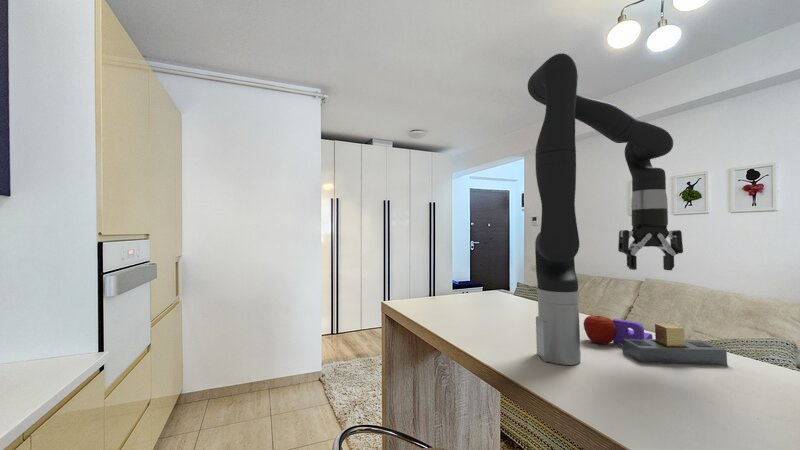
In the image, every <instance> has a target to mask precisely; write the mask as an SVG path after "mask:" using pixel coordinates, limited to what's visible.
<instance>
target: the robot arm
mask: <svg viewBox="0 0 800 450" xmlns="http://www.w3.org/2000/svg"><path fill="white" fill-rule="evenodd" d="M578 71H579V70H578V67H577V64H576V62H575V60H574V59H573V57H572V56H570V55H569V54H568V53H567V54H566V53H561V52H560V53H557V54H553V55H552V56H550V57H549V58H548V59H546V61H545V62H543V63H542V64H541V66H539V67H538V68H537V69H536V71H534V72H533V73H532V74H531V76H530V77H529V79H528V82H527V91H528V94H529V96H530V97H531V98H532V99H534V101H536V102H538V103H540V104H541V105H544V106H545V114H544V119H543V123H542V125H541V129H540V132H539V135H538V137H537V142H536V146H535V160H534V161H535V176H536V183H537V189H538V193H539V197H540V204H541V221H540V223H541V224H540V232H538V234H537V236H536V237H535V241H534V242H535V244H534V249H535V273H536V281H537V282H536V283H537V311H538V313H537V315H538V316H536V317H535V334H536V335H535V337H536V338H535V339H536V354H537V355H538V356H539V357H540V358H541V360H542V361H544V362H546V363H552V364H556V365H564V366H573V365H577V364H580V363H581V353H582V352H581V339H580V338H581V337H580V333H581V332H580V331H581V330H580V307H579V306H580V304H579V302H580V301H579V280H578V276H577V273H576V266H575V264H576V263H575V257H576V256H577V254H578V253H579V249H580V236H579V231H578V224H577V216H576V203H575V202H576V200H575V199H576V189H577V188H576V185H577V183H576V182H577V153H576V152H577V149H576V120H577V121H579V122H581V123H583V124H585V125H587V126H589V127H590V128H592V129H594V130H595V131H596V132H598V133H600V134H601V135H602V136H604V137H605V138H607V139H609V140H610V141H611V142H613V143H616V144H624V143H625V147H624V158H625V161H626V165H627V168H628V170H629V171H628V172H629V173H630V175H631V186H632V187H631V191H632V193H631V198H630V199H631V202H630V203H631V204H630V205H631V206H630V208H631V210H630V212H631V226H632V229H631V230H628V229H623V230H622V229H620V230H619V232H618V247H617V248H618V252H619V253H622V254H625V256H626V267H627V268H628V269H629V270H633V271H637V269H638V267H637V265H638V263H637V255H636V254H637V253H638V252H639V251H640V250H641V249H642V248H643V247H644V248H645V247H646V248H647V247H648V248H650V247H654V248H655V247H657V248H658V249H659V250H660V251H661V252H662V253H663V256H662V259H663V261H662V262H663V265H662V267H663V270H664V271H673V269H674V268H675V256H676V255H678V254H683V252H684V247H683V236H682V235H683V233H682V230H680V229H673V230H672V229H671V230H668V228H667V227H668V224H669V218H668V216H669V215H668V213H669V211H668V194H667V186H666V182H667V181H666V180H667V179H666V178H667V177H666V170H664V169H663V168H661V167H655V166H654V167H653V165H652V163H651V160H655V159H657V158H661V157H664V156H666V155H667V154H669V153H670V152H671V151H672V149H673V146H674V139H673V136H672V135H671V134H670V132H668V131H667V130H665V129H664V128H662V127H660V126H658V125H656V124H652V123H649V122H646V121H645V120H644V121H643V120H639V119H636V118H635V117H634V116H632V115H631V114H629V113H628V112H626V111H625V110H623V109H622V108H620V107H618V106H617V105H615V104H612V103H610V102H607V101H602V100H598V99H595V98H594V99H593V98H590V97H585V96H582V95H580V94H578V84H579V83H578V81H579V72H578ZM631 237H632V238H633V240H632V241H631V242H630V239H631ZM667 238H669V241H670V243H669V242H668V240H667Z"/></svg>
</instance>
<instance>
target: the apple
mask: <svg viewBox="0 0 800 450" xmlns="http://www.w3.org/2000/svg"><path fill="white" fill-rule="evenodd" d="M612 320H613V319H611V318H609V317H606V316H602V315H588V316H587V317H586V318H584V321H583V329H584V331H585V334H586V336H587V338H588V339H589V340H590V341H591V342H593V343H595V344H599V345H606V344H607V345H608V344H610V343H613V339H614V338H615V335H616V327H615V324H614V323H613V321H612Z"/></svg>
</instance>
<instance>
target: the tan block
mask: <svg viewBox="0 0 800 450" xmlns="http://www.w3.org/2000/svg"><path fill="white" fill-rule="evenodd" d="M654 331H655V332H654V333H655V335H654V336H655V337H654V339H656V343H657V344H659V345H661V346H664V347H667V348H685V340H686V339H685V338H686V337H685V328H684V327H681V326H679V325H676V324H673V323H654Z"/></svg>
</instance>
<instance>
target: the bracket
mask: <svg viewBox="0 0 800 450" xmlns="http://www.w3.org/2000/svg"><path fill="white" fill-rule="evenodd" d="M611 320H612V321H613V323H614V324H615V327H616V335H615V338H614V339H613V341H612V344H616V345H620V346H623V340H622V339H654V338H653V334H652V333H648V332H645V328H644V326H643V325H642V324H641V323H640V322H638V321H633V320H632V321H631V320H625V319H619V318H614V319H611ZM631 329H632V330H631Z"/></svg>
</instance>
